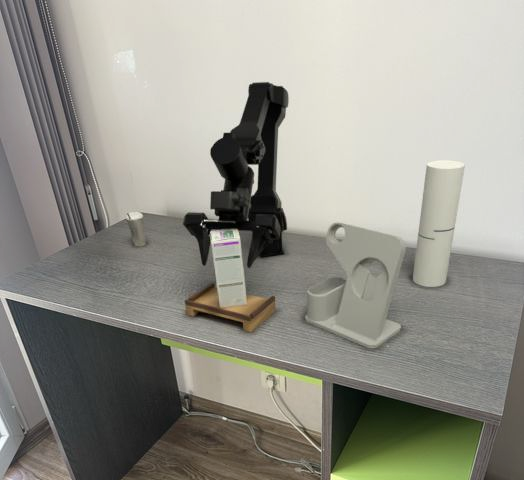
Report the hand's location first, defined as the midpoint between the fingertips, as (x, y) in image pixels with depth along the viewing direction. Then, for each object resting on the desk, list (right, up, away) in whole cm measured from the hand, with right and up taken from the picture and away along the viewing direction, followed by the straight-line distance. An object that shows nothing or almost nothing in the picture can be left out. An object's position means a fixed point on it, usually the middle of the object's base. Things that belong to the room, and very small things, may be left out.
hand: (225, 266), depth 96 cm
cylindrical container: (+45, -1, +15) cm, 47 cm away
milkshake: (-28, +13, +43) cm, 53 cm away
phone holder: (+25, -11, +1) cm, 27 cm away
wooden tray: (+1, -9, +7) cm, 11 cm away
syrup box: (+1, -6, +6) cm, 9 cm away
